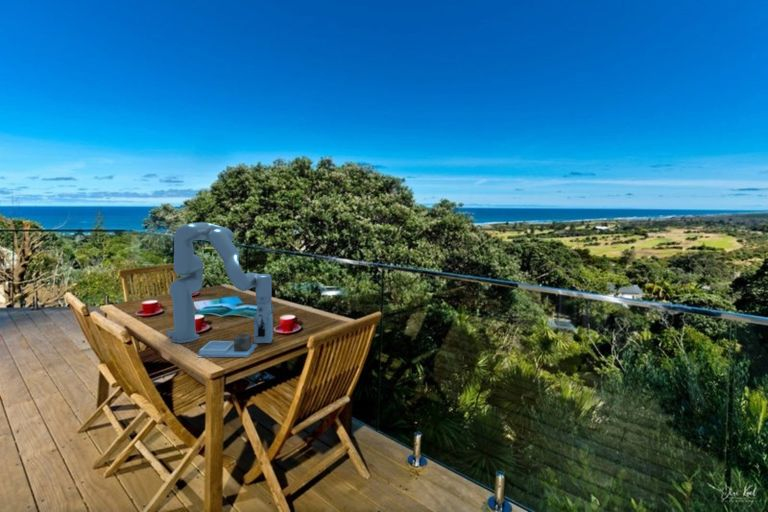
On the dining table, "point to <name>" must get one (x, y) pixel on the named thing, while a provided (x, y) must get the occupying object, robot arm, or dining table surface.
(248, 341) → the dark gray block
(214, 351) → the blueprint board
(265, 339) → the small box
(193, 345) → the dining table surface
